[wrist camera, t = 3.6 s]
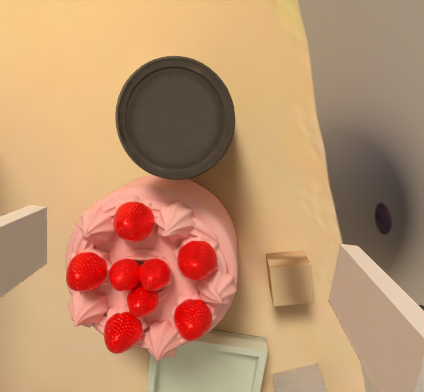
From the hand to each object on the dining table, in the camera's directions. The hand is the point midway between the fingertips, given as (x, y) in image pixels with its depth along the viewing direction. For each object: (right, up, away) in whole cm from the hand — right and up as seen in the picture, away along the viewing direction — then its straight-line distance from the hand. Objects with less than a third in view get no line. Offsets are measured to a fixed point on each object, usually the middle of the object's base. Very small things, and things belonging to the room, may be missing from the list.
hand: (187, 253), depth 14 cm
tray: (0, -24, +35) cm, 42 cm away
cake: (-5, -4, +31) cm, 32 cm away
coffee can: (-1, +12, +27) cm, 30 cm away
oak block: (+11, -7, +30) cm, 33 cm away
